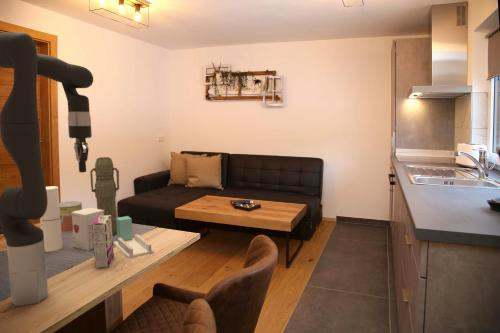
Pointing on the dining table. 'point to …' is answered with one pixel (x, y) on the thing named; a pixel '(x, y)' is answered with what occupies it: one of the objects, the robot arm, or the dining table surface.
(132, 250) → the chute
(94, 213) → the supplement box
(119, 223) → the block
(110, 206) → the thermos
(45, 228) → the cylindrical container
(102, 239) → the candy bar box
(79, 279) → the dining table surface
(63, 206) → the canned food
